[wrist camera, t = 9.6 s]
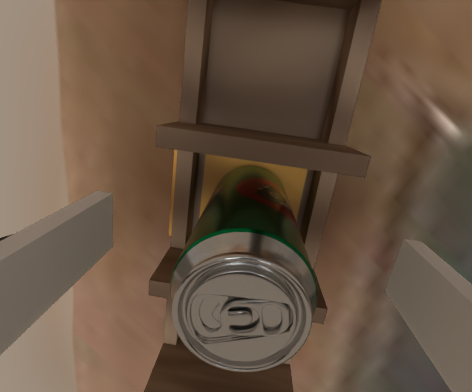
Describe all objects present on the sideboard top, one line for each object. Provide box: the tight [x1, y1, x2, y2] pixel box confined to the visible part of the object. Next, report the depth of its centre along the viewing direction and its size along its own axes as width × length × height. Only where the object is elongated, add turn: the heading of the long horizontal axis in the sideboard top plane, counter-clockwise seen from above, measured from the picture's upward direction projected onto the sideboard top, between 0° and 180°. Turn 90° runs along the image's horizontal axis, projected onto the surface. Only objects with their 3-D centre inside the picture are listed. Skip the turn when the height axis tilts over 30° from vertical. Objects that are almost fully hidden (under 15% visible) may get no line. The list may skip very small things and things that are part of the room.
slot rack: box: [144, 0, 382, 392], centre depth 18 cm, size 26×10×7 cm, turn 172°
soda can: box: [170, 166, 318, 372], centre depth 14 cm, size 5×5×12 cm
